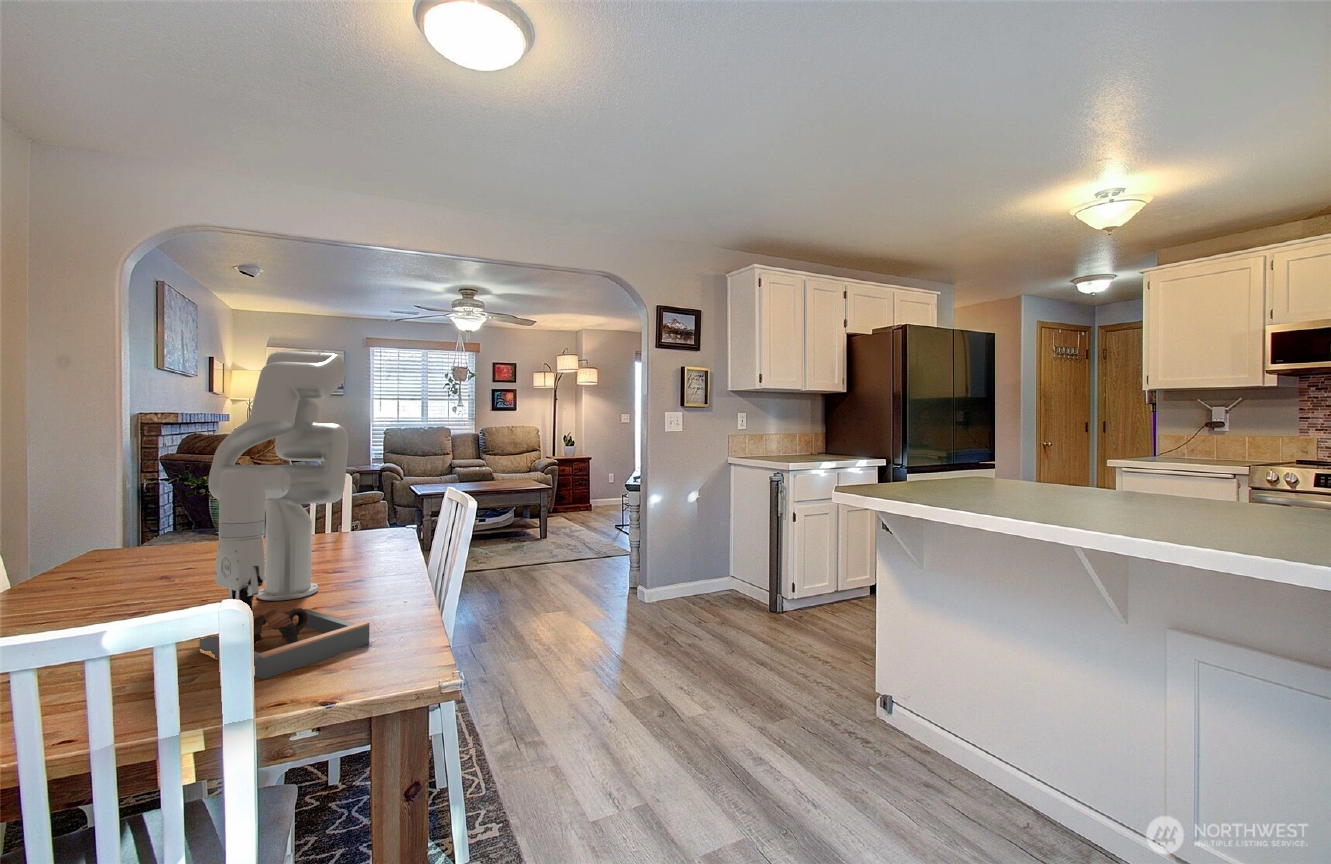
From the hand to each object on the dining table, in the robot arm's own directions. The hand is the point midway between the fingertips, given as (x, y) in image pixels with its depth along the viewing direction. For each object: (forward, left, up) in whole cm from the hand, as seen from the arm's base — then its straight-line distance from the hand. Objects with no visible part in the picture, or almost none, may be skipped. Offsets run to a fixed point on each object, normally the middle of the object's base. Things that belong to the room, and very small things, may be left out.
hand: (241, 620), depth 119 cm
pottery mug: (+13, 0, -3) cm, 13 cm away
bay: (+15, 0, -2) cm, 16 cm away
